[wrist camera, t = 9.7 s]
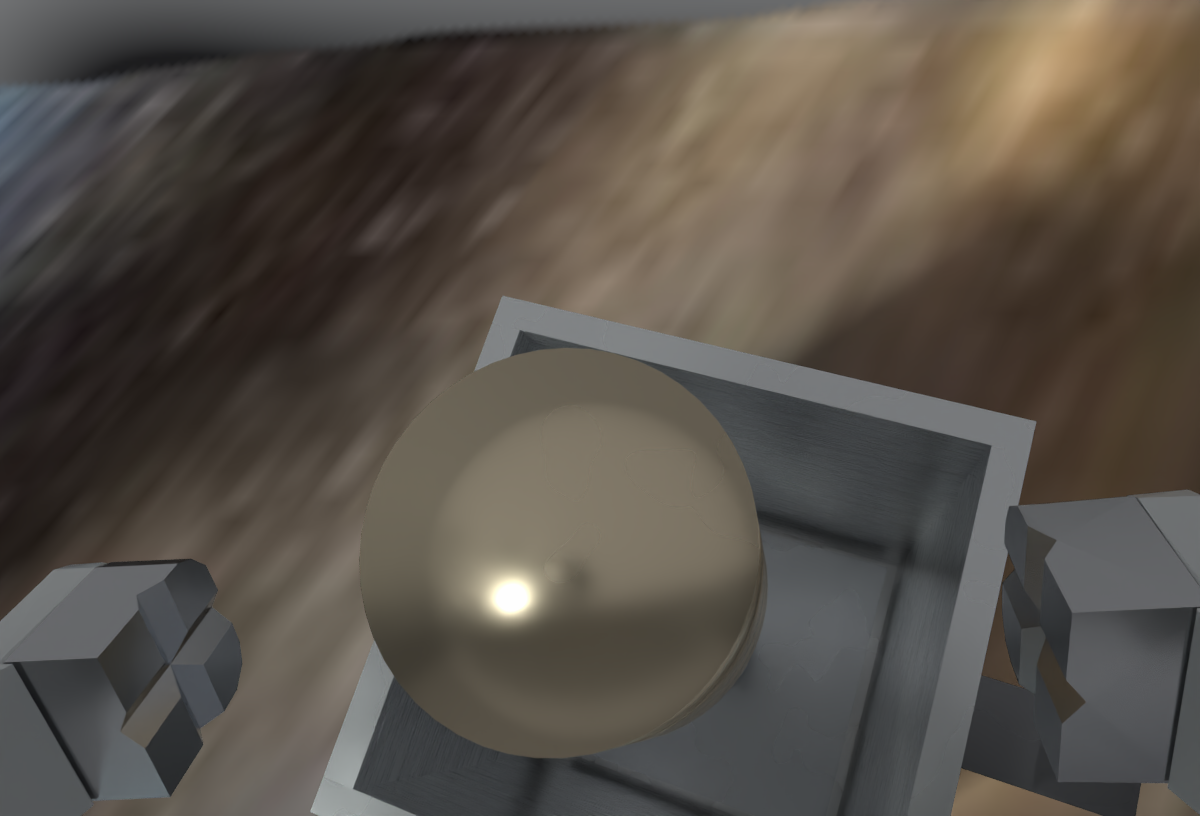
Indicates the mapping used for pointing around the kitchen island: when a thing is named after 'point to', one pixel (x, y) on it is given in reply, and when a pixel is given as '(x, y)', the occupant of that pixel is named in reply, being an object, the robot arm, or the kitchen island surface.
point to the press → (804, 514)
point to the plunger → (611, 586)
